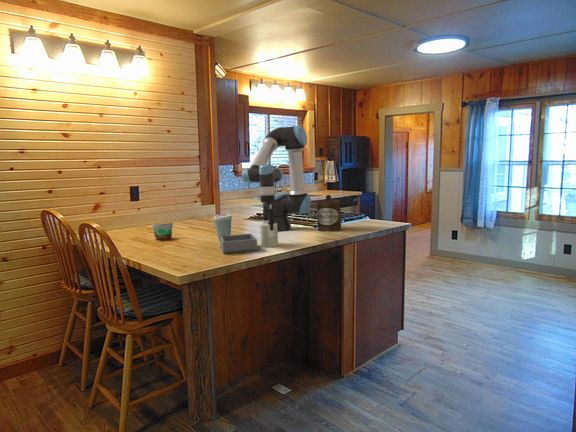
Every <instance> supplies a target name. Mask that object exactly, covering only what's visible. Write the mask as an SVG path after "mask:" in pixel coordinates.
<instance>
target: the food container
mask: <svg viewBox="0 0 576 432" xmlns="http://www.w3.org/2000/svg"><path fill="white" fill-rule="evenodd" d="M173 226H174V223H173V221H171V222H168V223H163V222H162V223H156V224H155V223H152V224H151V227H152V229H153V234H154V237H155V238H154V239H155V240H156V241H158V240H162V241H168V240H172V239H171V238H173V236H172V235H173V233H172V232H173Z"/></svg>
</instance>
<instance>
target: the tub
mask: <svg viewBox="0 0 576 432" xmlns="http://www.w3.org/2000/svg"><path fill="white" fill-rule="evenodd" d="M219 243H220V249H221V251H222V254H223V255H227V254H238V253H239V254H240V253H250V252H252V253H253V252H258V239H257V238H256V237H255V235H254V234H252V233H243V234H241V233H240V234H231V235H228V236H220V241H219Z"/></svg>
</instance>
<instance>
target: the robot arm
mask: <svg viewBox="0 0 576 432" xmlns="http://www.w3.org/2000/svg"><path fill="white" fill-rule="evenodd" d="M307 144H308V135H307V132H306V130H305V127H303V126H300V125H297V126H296V125H294V126H281V127H280V126H279V127H276V128H274V129H273V130H271V131H270V132H268V134H267V135H265V137H264V139H263V141H262V146H261V148H260V149H259V150H258V153H257V155H256V156H255V158H254V159H253V161H252V163H251V165H250V167H249V168H245V169H243V170H242V173H241V178H242V181H243V182H244V183H253V184H254V183H259V189H258V191H260V192H259V193H260V203H262V206H263V207H262V221H263V223H268V225H269V237H274V223H277V232H284V231H289V230H291V229H292V225H291V222H290V218H289V214H296V215H297V214H298V215H301V214H308V212H309V210H310V208H311V203H312V202H311V201H312V198H311V196H310V195H309V194H308V192H307V190H306V189H305V178H304V177H305V176H304V163H303V162H304V161H303V150H305V146H307ZM279 147H284V148H285V151H287V154H288V168H289V172H288V173H289V183H290V185H289V186H290V191H289V192H282V193H277V194H275V192H276V191H275V190H276V189H275V183H278V182H280V181H282V179H283V178H284V173H283V170H282V169H280V168H278V167H274V165H272V164H268V163H269V160H270V159H271V157H272V155H273V153H274V151H276V150H277V149H278V148H279Z"/></svg>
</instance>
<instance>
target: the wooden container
mask: <svg viewBox="0 0 576 432" xmlns="http://www.w3.org/2000/svg"><path fill="white" fill-rule="evenodd" d="M316 207H317V210H316V211H317V214H316V215H317V217H316V218H317V220H316V221H317V230H318V231H320V232H325V231H329V232H330V231H331V232H337V231H341V230H342V212H341V211H342V210H341V200H339V199H338V200H337V199H332V195H330V194H327V195H326V196H325V199H323V200H318V201H316Z"/></svg>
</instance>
